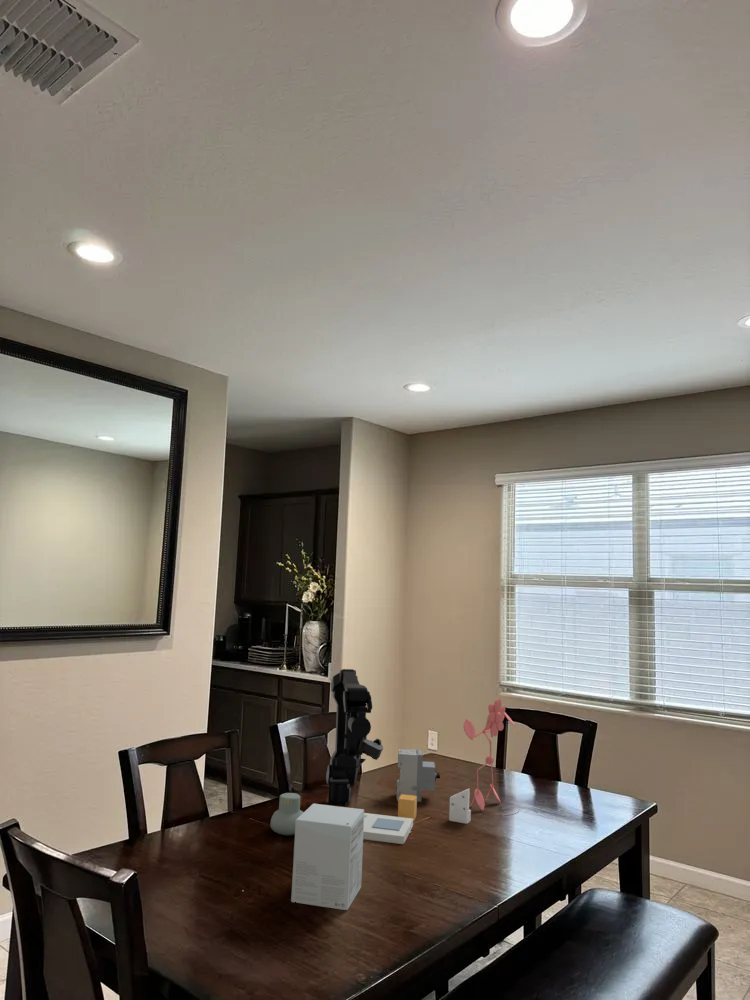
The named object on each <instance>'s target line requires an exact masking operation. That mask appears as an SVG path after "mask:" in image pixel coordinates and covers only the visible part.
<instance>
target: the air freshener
mask: <svg viewBox="0 0 750 1000" xmlns="http://www.w3.org/2000/svg"><path fill="white" fill-rule="evenodd" d="M278 804H279V805H278V809H277V810H275V811H274V812H273V814H272V816H271V819H270V828H271V830H272V831H273V832H275V833H277V834H278V835H282V836H295V821H296V819H297V818H298V817H299V816H300V815H302V814H303V813H304V812H305V811H303V810H301V809H300V808H301V795H299V794H298V793H296V792H295V793H294V792H285V793H282V794H280V795H279V802H278Z"/></svg>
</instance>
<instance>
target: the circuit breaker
mask: <svg viewBox="0 0 750 1000" xmlns="http://www.w3.org/2000/svg"><path fill="white" fill-rule="evenodd" d="M423 756H424V755H423V750H422V749H406V748H405V749H400V748H399V749H398V753H397V768H400V769H399V779H397V780H396V801H397V802H398V799H399V797H400V796H401V794H404V795H413V796H417V803H418V802H419V803H422V793H423V792H422V791H433V792H434V791H436V781H437V779H441V774H440V772H437V769H436V765H435V761H425V760H423V759H424V757H423Z"/></svg>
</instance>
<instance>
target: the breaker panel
mask: <svg viewBox="0 0 750 1000" xmlns="http://www.w3.org/2000/svg"><path fill="white" fill-rule="evenodd" d="M413 827H414V821H413V819H412V818H404V817H398V816H395V815H393V816H392V815H385V814H376V813H367V812H364V829H363V840H368V841H374V842H375V841H376V842H383V843H384V842H385V843H392V844H398V845H399V844H400V845H405V843H406V840H407V838H408V836H409V834H410V833H411V830H412V828H413Z"/></svg>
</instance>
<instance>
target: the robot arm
mask: <svg viewBox="0 0 750 1000" xmlns="http://www.w3.org/2000/svg"><path fill="white" fill-rule="evenodd" d="M330 692H331V693H332V698H333V699H334V702H335V703H336V718H335V720H336V721H335V742H334V744H335V745H334V746H335V747H334V752H333V753H332V755H331V757H330V758H329V764H328V765H327V767H326V768H327V769H326V773H325V774H326V775H325V781H326V784H327V785H328V797H327V798H328V799H327V801H326V805H335V806H347V805H348V804H349V802H351V799H352V797H351V795H352V786H355V784H356V780H357V778H358V777H357V776H358V774H359V773H358V772H359V770H360V767H361V765H362V764H363V763H364V762H365V761H366V758H362V756H363V754H365V755H366V756H368V757H371V758H372V759H373V760H374V761H377V760H379V758H381V754H382V751H383V750H384V746H383V745H382V740H381V739H380V738H376V739H374V740H371V739H367V738H368V737H367V736H368V735H369V734H370V732H371V729H372V725H371V721H370V720H369V719H368V718H367V714H371V713H372V710H373V702H372V701H373V700H372V695H371V693H370V691H369V690H368V688H367V687H366V686H365V685H363V684H360V681H359V677H358V676H357V670H356V669H353V668H343V669H340V670H339V672H338V673H336V674H335V675H333V676H332V678H331V683H330ZM350 786H351V787H350Z"/></svg>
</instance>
